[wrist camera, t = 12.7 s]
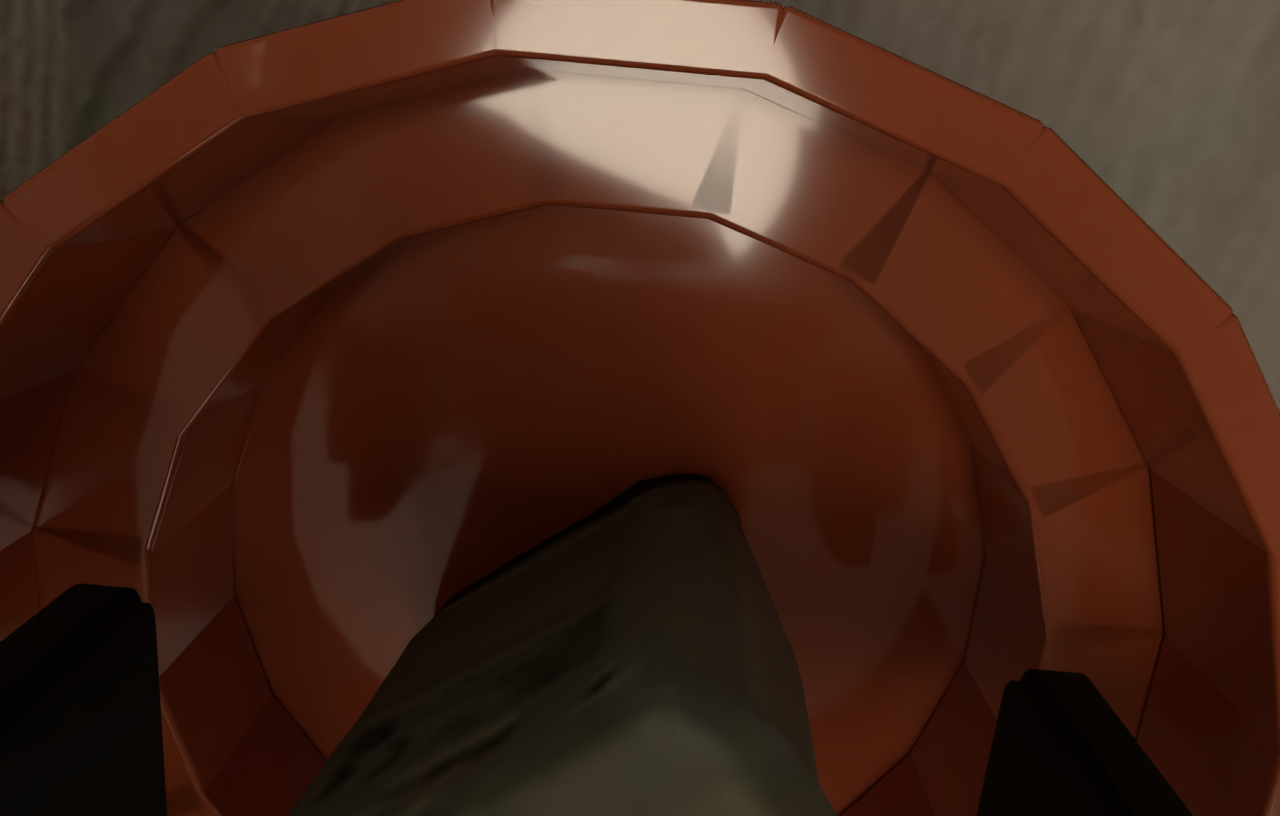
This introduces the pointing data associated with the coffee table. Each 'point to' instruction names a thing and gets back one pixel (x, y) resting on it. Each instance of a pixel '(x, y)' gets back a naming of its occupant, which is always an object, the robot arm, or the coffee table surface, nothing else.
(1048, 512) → the bowl
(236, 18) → the coffee table surface
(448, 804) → the cream rounded block
